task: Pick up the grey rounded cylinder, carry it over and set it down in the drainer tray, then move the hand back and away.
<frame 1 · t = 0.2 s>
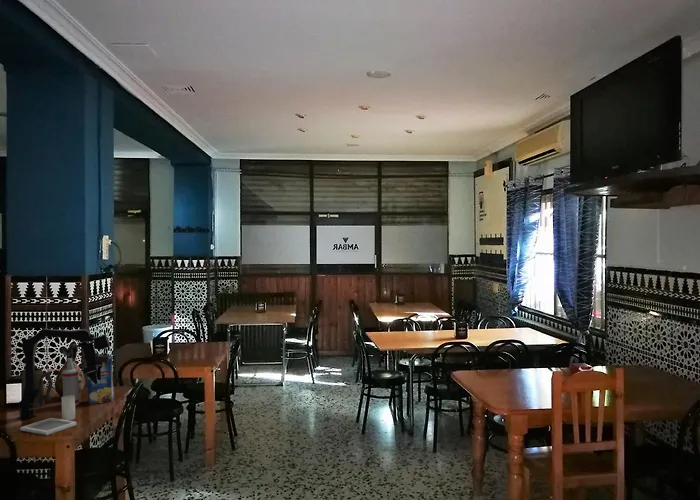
hand: (98, 381, 305), 15 cm above the table, tool pointing down, fingers open, 9 cm apart
juice carton: (101, 401, 325), on the table
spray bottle: (71, 404, 320), on the table
ceramic jug: (71, 397, 336), on the table
drainer tray: (48, 427, 279), on the table
beer stein: (38, 405, 319), on the table
grey rounded cylinder: (68, 418, 293), on the table
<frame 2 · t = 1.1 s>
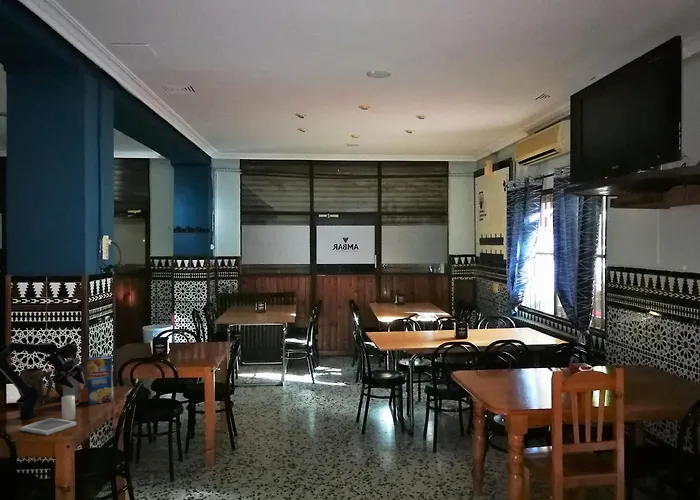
hand: (78, 385, 306), 13 cm above the table, tool tilted 45°, fingers open, 9 cm apart
nothing on the table moved.
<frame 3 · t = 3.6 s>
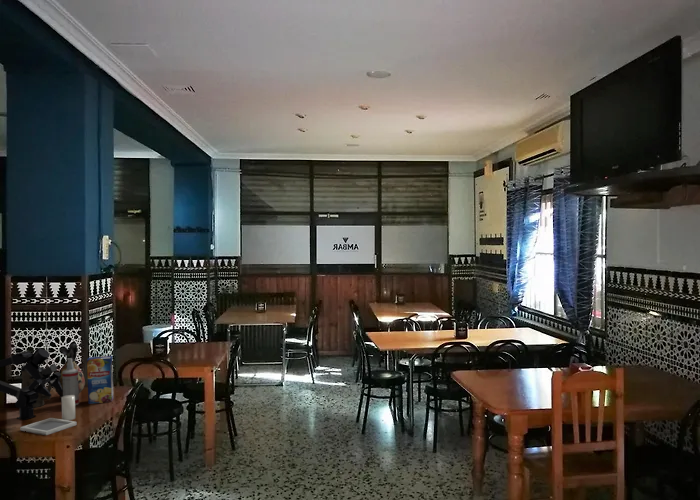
hand: (56, 393, 294), 12 cm above the table, tool tilted 45°, fingers open, 9 cm apart
nothing on the table moved.
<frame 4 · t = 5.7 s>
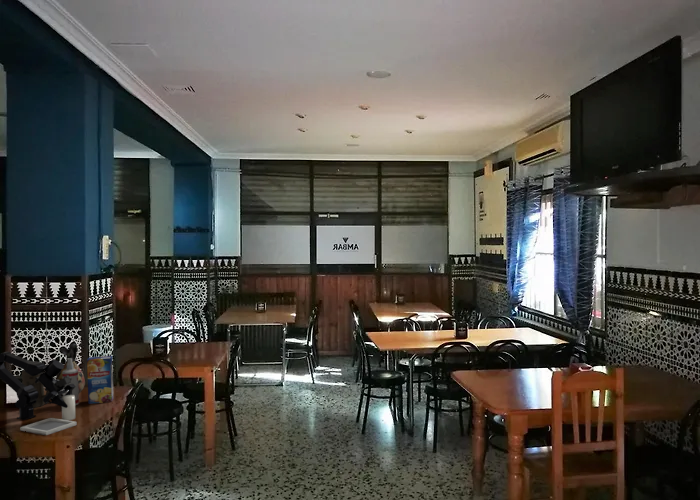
hand: (71, 405, 293), 7 cm above the table, tool tilted 45°, fingers closed on grey rounded cylinder, 6 cm apart
grey rounded cylinder: (68, 418, 293), on the table, touching gripper
everything else where it was.
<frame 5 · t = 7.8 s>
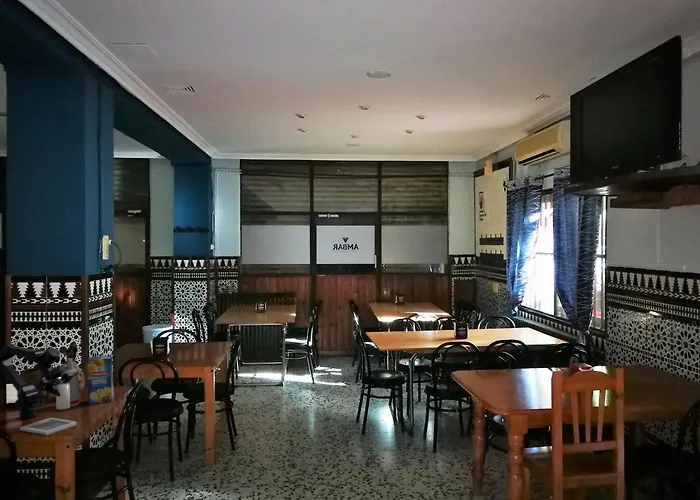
hand: (65, 394, 287), 14 cm above the table, tool tilted 45°, fingers closed on grey rounded cylinder, 6 cm apart
grey rounded cylinder: (63, 407, 287), point 7 cm above the table, touching gripper
everything else where it was.
when the fingers open (9 cm above the table, at t = 10.1 s): grey rounded cylinder drops 2 cm, resting on drainer tray.
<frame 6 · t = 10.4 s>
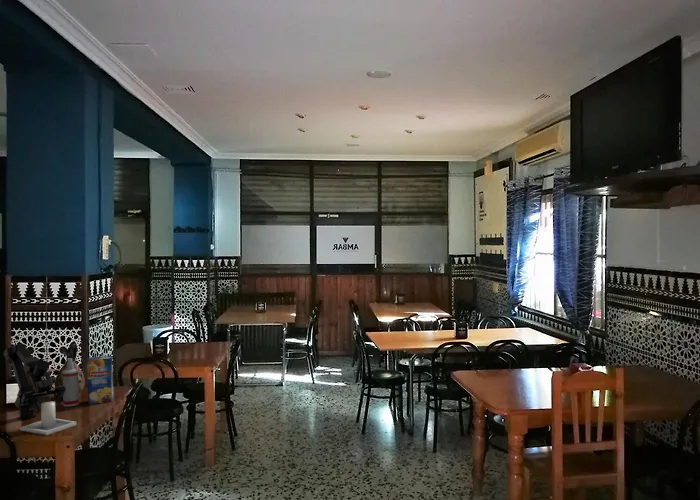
hand: (49, 409, 277), 9 cm above the table, tool tilted 45°, fingers open, 9 cm apart
grey rounded cylinder: (48, 426, 279), point 1 cm above the table, touching drainer tray
everything else where it was.
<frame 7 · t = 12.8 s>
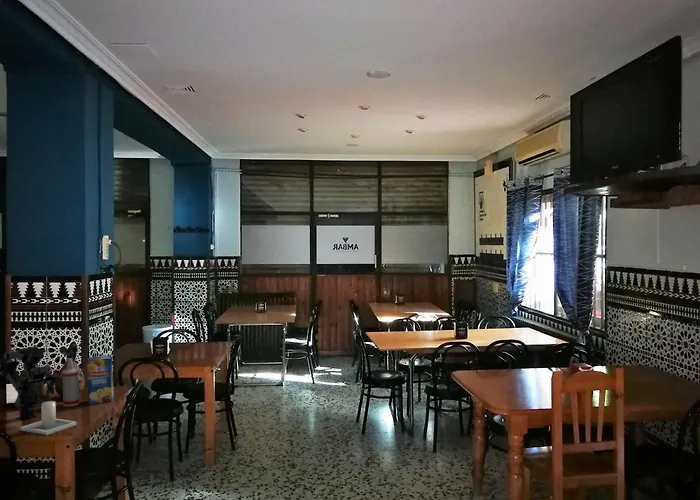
hand: (43, 395, 284), 14 cm above the table, tool tilted 40°, fingers open, 9 cm apart
nothing on the table moved.
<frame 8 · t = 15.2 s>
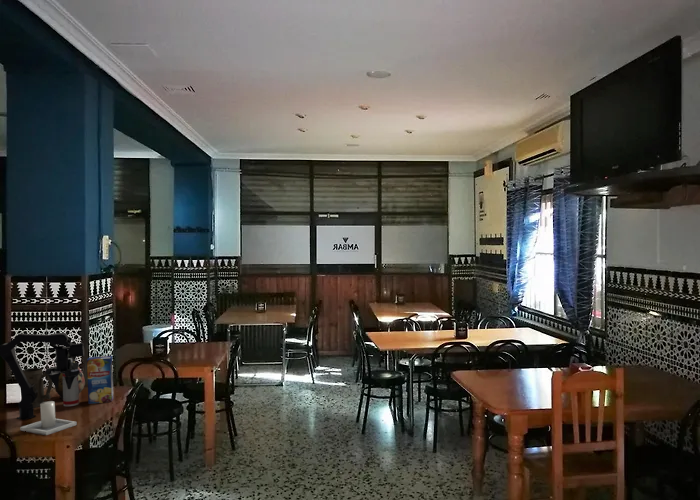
hand: (63, 388, 302), 13 cm above the table, tool pointing down, fingers open, 9 cm apart
nothing on the table moved.
at the end: grey rounded cylinder inside the target area on the drainer tray (0.1 cm from its centre), point 0.8 cm above the drainer tray's base; grey rounded cylinder tilted 1°; the gripper is holding nothing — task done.
